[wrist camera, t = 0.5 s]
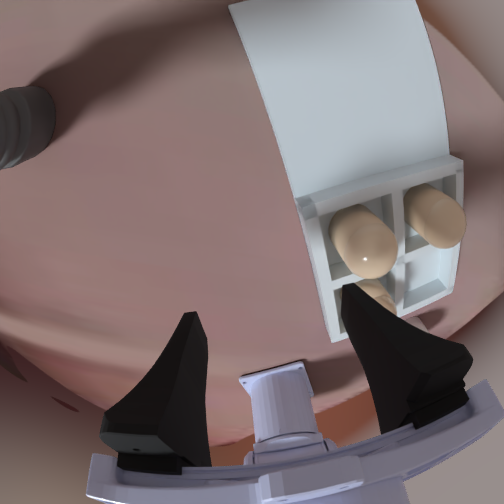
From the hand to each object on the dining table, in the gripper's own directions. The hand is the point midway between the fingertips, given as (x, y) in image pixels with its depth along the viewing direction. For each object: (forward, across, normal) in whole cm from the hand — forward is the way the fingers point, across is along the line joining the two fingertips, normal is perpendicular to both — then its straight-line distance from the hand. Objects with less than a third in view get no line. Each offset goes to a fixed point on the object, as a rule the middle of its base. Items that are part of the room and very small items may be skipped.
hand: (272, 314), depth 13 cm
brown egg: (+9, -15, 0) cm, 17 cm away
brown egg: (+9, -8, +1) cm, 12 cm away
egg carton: (+10, -11, -3) cm, 15 cm away
